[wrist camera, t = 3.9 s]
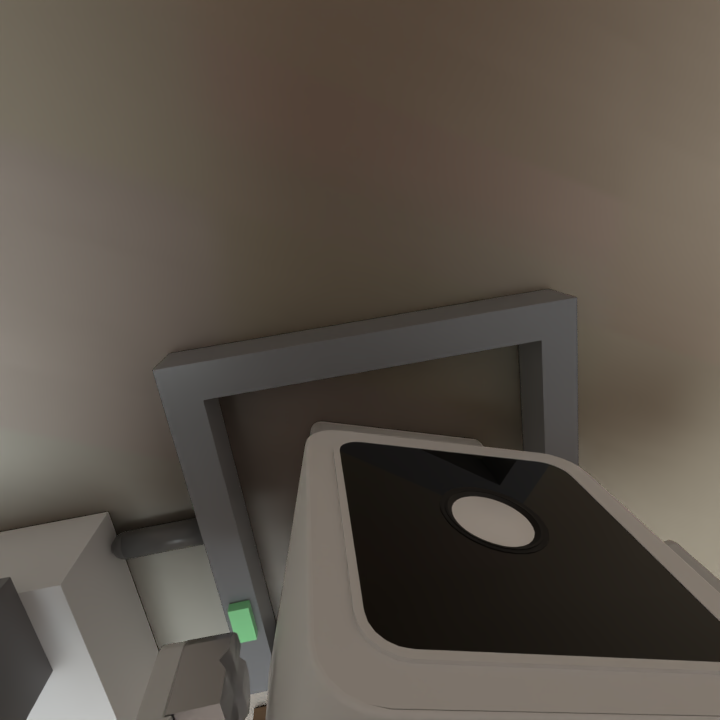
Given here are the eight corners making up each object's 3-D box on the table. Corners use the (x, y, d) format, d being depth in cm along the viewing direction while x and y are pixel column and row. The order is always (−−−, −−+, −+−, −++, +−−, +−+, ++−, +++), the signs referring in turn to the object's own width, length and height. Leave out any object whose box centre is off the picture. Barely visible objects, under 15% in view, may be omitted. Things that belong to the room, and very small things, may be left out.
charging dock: (168, 353, 13) (148, 374, 12) (549, 288, 14) (583, 299, 12) (253, 653, 17) (247, 703, 15) (557, 589, 17) (584, 630, 16)
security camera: (508, 397, 15) (870, 721, 5) (456, 582, 17) (657, 1065, 7) (305, 370, 14) (308, 709, 4) (274, 570, 16) (231, 1111, 6)
